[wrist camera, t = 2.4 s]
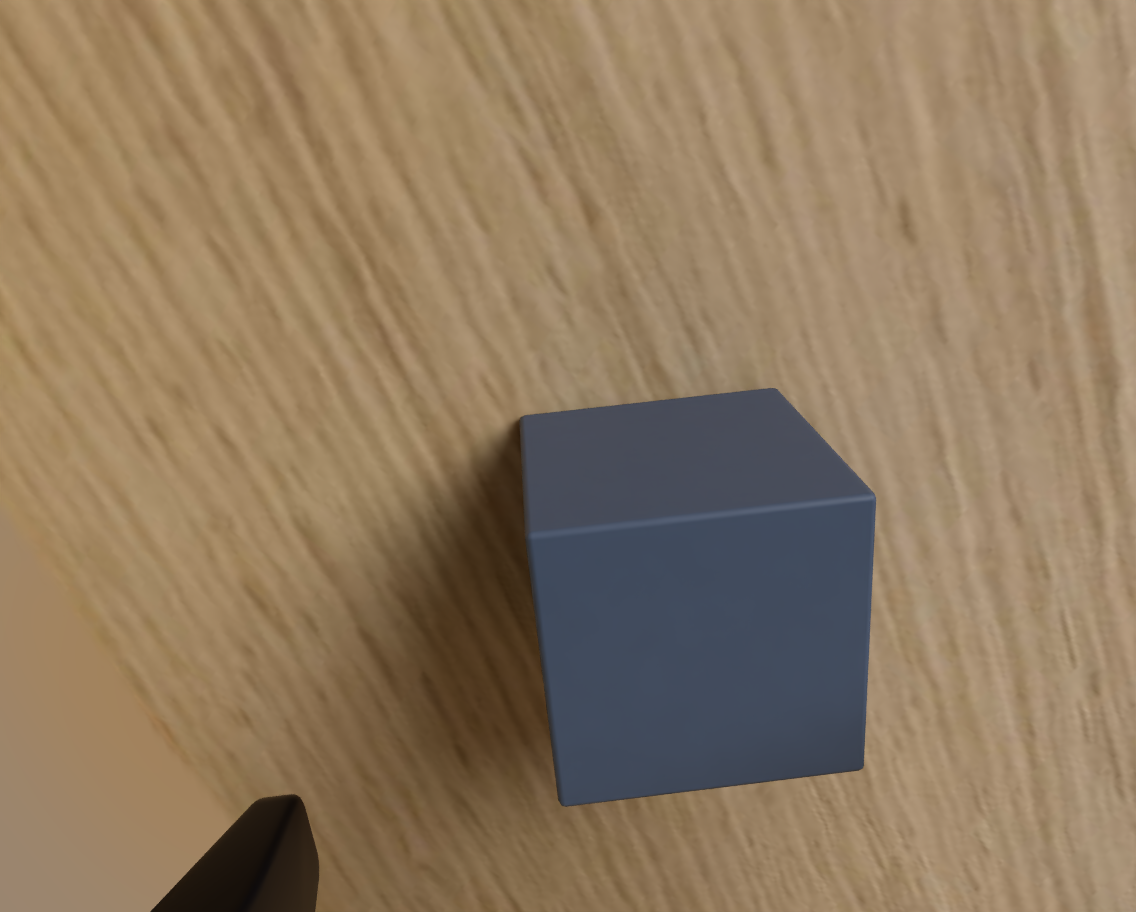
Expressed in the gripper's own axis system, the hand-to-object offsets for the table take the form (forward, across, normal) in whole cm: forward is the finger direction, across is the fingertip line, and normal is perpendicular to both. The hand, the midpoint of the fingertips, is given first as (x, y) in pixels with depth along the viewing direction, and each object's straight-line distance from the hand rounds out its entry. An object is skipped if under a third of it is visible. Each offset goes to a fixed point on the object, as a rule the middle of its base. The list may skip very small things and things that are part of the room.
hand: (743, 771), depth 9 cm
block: (+6, 0, 0) cm, 6 cm away
